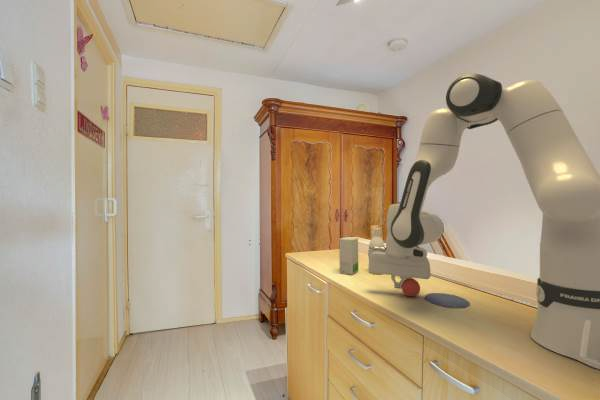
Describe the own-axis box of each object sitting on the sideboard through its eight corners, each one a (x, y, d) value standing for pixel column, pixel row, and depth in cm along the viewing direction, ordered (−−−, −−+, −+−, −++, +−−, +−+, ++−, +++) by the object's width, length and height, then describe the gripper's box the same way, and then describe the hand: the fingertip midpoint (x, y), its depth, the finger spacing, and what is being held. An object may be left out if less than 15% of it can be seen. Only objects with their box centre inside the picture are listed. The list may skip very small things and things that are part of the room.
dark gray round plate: (464, 296, 95) (464, 295, 95) (474, 310, 82) (474, 309, 82) (423, 291, 99) (423, 291, 99) (426, 304, 87) (426, 304, 87)
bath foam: (367, 270, 129) (367, 227, 129) (382, 270, 128) (382, 227, 128) (370, 274, 122) (370, 229, 122) (386, 274, 121) (386, 229, 121)
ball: (412, 297, 97) (424, 285, 96) (411, 302, 91) (424, 290, 90) (398, 284, 99) (409, 273, 98) (396, 289, 93) (409, 276, 92)
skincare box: (352, 275, 120) (352, 239, 120) (338, 273, 123) (338, 238, 123) (358, 271, 127) (359, 237, 127) (345, 269, 130) (345, 236, 130)
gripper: (367, 247, 96) (366, 286, 96) (432, 253, 89) (430, 295, 90) (369, 244, 102) (367, 281, 102) (429, 249, 95) (428, 289, 96)
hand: (397, 288), depth 96 cm, fingers closed
